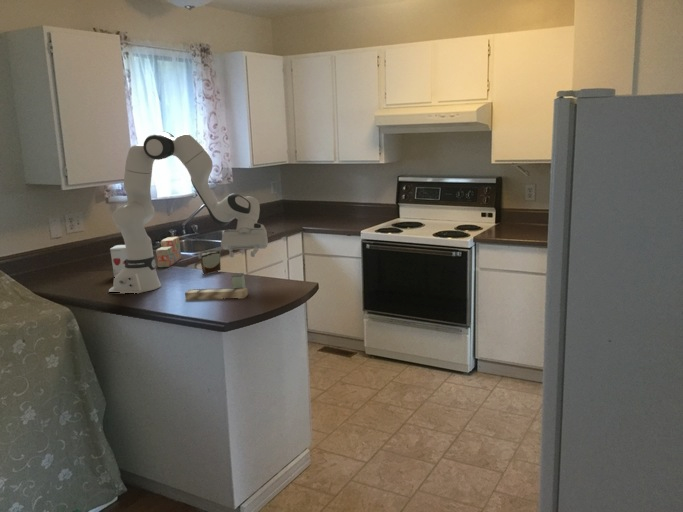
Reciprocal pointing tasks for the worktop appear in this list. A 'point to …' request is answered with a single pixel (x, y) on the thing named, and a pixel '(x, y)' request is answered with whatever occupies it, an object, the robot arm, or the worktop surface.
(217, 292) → the maple plank
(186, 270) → the worktop surface
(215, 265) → the food container
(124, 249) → the supplement box
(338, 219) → the worktop surface
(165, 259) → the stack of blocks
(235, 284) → the post
